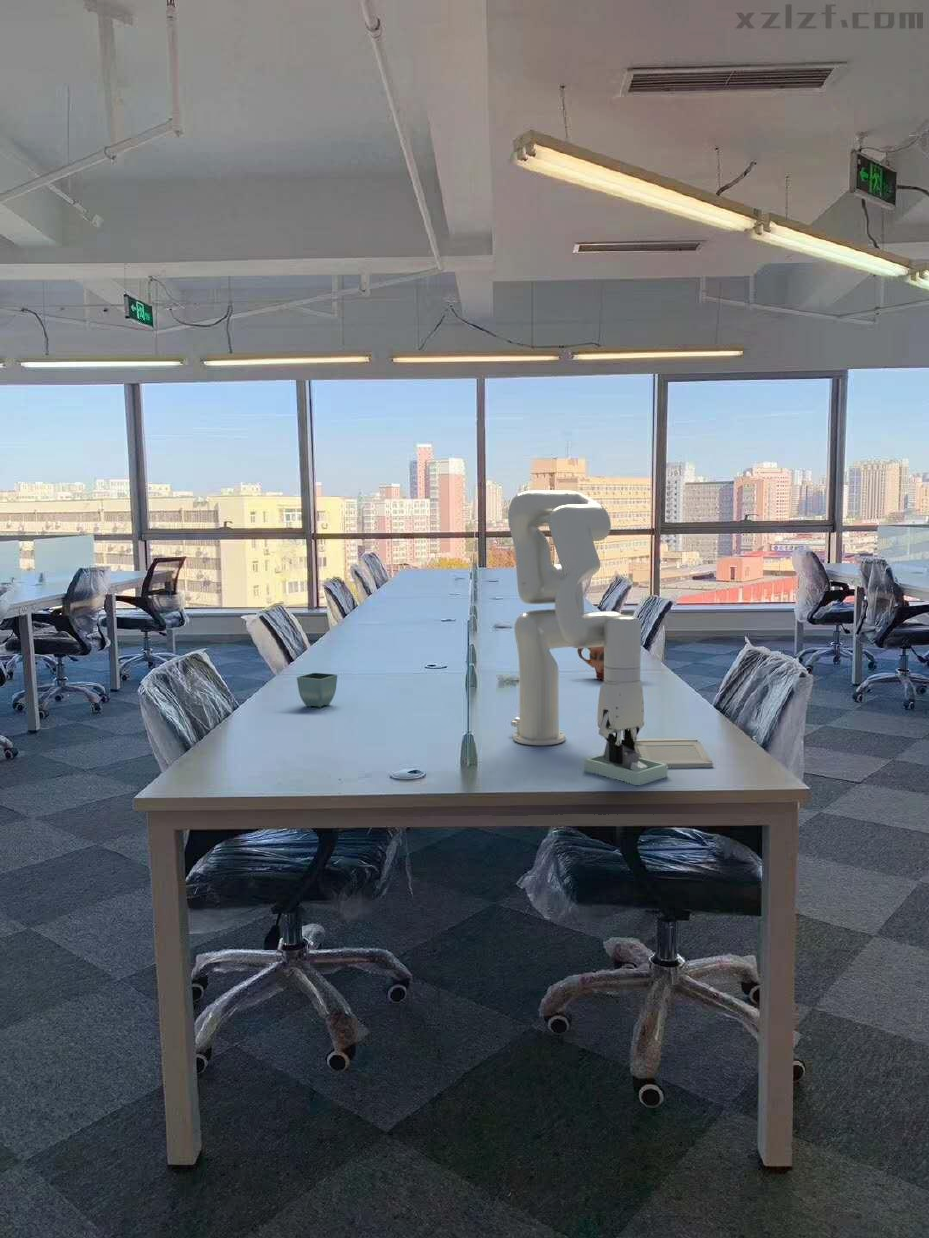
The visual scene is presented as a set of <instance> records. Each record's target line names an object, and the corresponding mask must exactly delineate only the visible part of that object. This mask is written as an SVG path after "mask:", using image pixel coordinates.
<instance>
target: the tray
mask: <svg viewBox="0 0 929 1238" xmlns="http://www.w3.org/2000/svg"><path fill="white" fill-rule="evenodd" d="M603 755H604V753H603V754H599V755H598V754H597V755H595V756H591V757H588V758H584V772H587V773H591V774H594V773H596V774H595V775H597V774H599V775H598V776H601V775H602V777H604V776H606V777H605V778H608V777H609V779H612V780H615V779H618V780H617V781H619V780H621V781H620V782H622V781H625V782H624V783H626V782H627V784H629V783H630V785H634V786H636V785H639V786H642V785H645V784H648V783H651V782H654V781H658V779H659V780H662V779H664V778H667V777H668V768H667V767H668V765H667V764H663V763H659V762H655V761H651V760H647V759H643V758H639V760H638V761H640V762H642V763H643V764H645V765H646V766H648V767H647V769H646V770H642V771H639V772H636V771H632V770H629V769H625V768H621V767H617V766H615V765H613V764H611V763H610V762H608V761H607V760H605V759H604V758H603Z"/></svg>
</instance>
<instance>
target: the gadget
mask: <svg viewBox="0 0 929 1238" xmlns="http://www.w3.org/2000/svg"><path fill="white" fill-rule="evenodd" d="M635 752H636V753H638V754H639V758H643V759H647V760H651V761H655V762H659V763H663V764H667V765H668V768H667V769H695V768H694V767H714V766H713V765H714V764H713V762H712V759H711V758H710V756H709V755H708V753H707V752H706V750H705V748H704V746H703V744H702V743H701V741H699V740H697V739H695V738H694V739H692V738H685V737H683V738H681V737H680V738H679V737H678V738H677V737H676V738H675V737H673V738H670V737H668V738H637V740H636V741H635ZM671 767H672V768H671ZM683 767H684V768H683ZM685 767H686V768H685ZM691 767H693V768H691Z"/></svg>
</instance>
